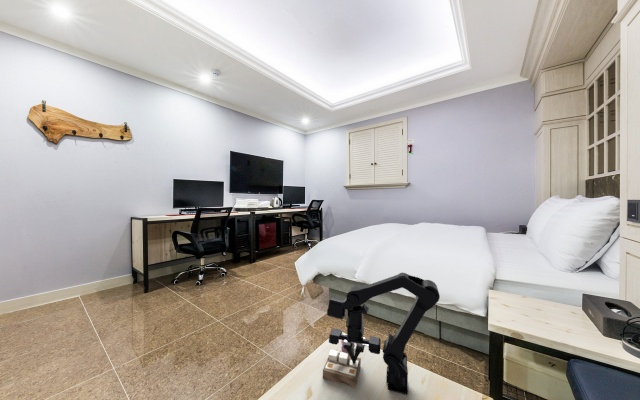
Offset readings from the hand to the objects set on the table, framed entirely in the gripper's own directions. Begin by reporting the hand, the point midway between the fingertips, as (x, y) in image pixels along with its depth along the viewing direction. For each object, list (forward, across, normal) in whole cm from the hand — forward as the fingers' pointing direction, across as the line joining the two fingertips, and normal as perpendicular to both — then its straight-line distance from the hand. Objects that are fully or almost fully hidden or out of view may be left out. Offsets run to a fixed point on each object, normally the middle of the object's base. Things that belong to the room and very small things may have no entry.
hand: (354, 362), depth 85 cm
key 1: (+1, +8, 0) cm, 8 cm away
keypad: (+3, +4, +2) cm, 5 cm away
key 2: (+2, 0, 0) cm, 2 cm away
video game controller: (+3, +4, -8) cm, 10 cm away
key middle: (+1, +4, 0) cm, 4 cm away
